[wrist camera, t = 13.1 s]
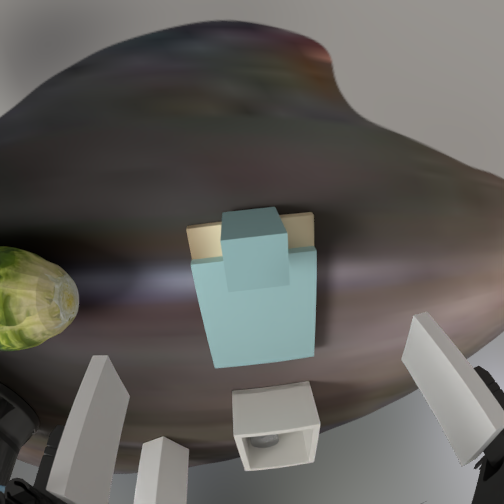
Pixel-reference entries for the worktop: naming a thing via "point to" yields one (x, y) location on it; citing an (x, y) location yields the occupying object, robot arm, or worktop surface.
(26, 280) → the lettuce
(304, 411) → the tub
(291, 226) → the board
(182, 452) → the milk
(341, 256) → the worktop surface
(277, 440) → the part
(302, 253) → the lid
